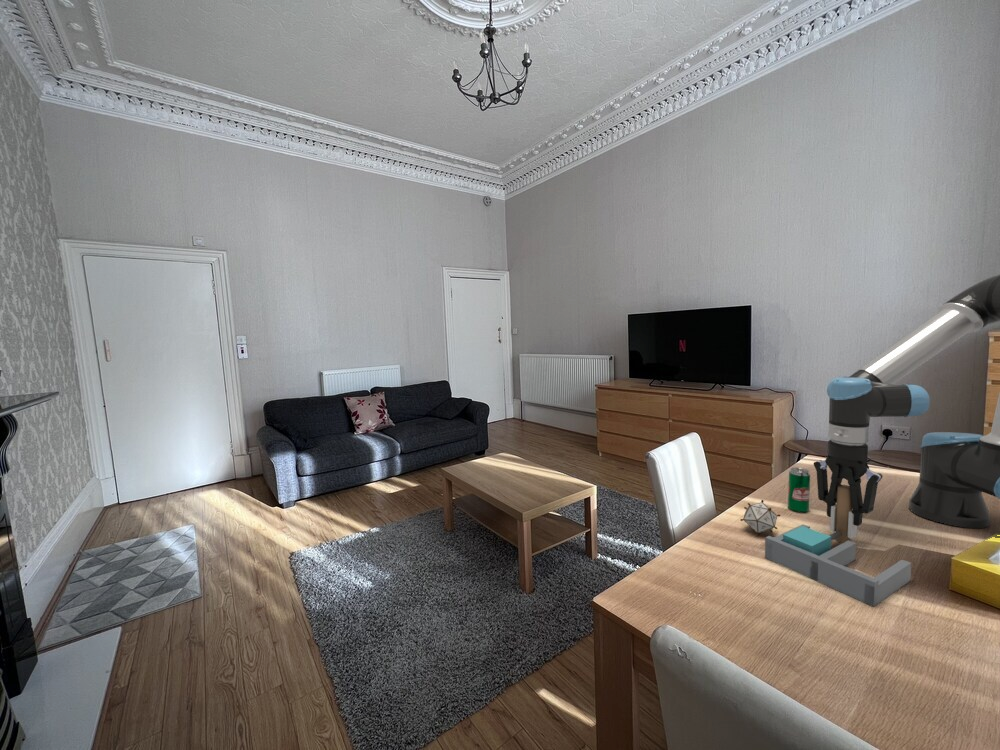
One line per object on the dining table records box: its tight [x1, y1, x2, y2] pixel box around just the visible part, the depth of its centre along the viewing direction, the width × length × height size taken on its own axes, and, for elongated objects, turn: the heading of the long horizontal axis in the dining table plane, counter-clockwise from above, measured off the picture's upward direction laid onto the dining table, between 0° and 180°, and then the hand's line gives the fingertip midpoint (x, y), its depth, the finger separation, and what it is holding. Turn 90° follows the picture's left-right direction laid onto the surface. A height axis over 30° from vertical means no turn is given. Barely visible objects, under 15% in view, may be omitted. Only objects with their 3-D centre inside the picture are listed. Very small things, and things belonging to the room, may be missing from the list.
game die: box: [739, 499, 781, 537], centre depth 110 cm, size 9×8×10 cm
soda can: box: [787, 467, 811, 513], centre depth 121 cm, size 5×5×12 cm
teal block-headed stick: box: [783, 484, 853, 556], centre depth 99 cm, size 22×6×14 cm, turn 117°
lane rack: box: [764, 524, 912, 608], centre depth 93 cm, size 16×20×5 cm
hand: (843, 533), depth 104 cm, fingers closed on teal block-headed stick, 3 cm apart
